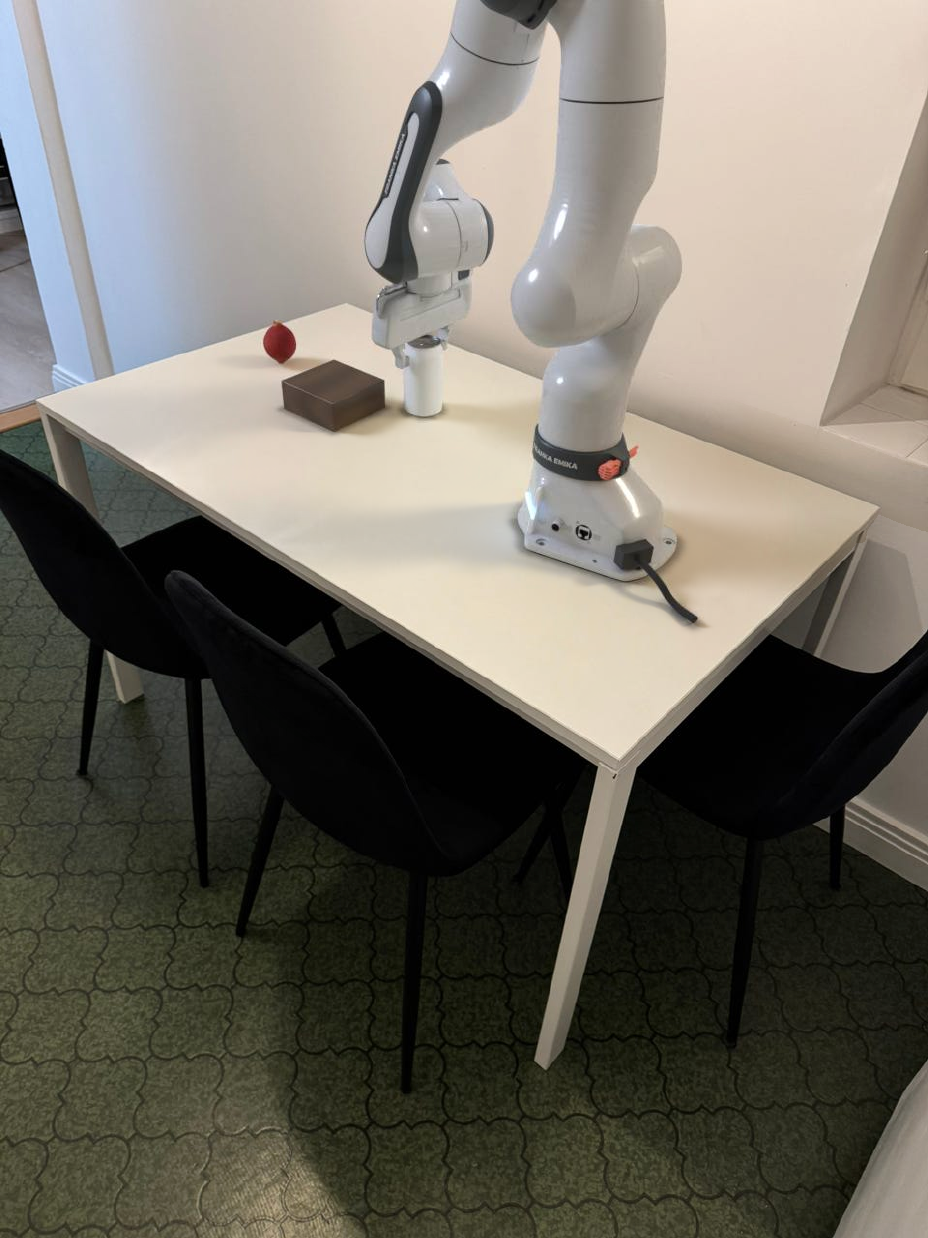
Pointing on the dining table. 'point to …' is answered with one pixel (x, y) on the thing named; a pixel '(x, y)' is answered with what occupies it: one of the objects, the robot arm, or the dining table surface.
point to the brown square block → (333, 394)
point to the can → (423, 376)
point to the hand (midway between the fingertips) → (421, 358)
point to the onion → (279, 342)
